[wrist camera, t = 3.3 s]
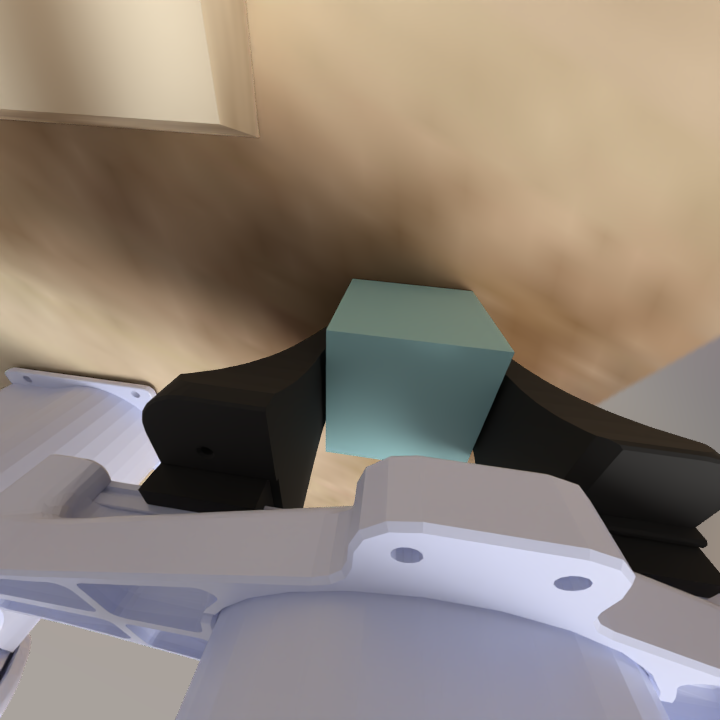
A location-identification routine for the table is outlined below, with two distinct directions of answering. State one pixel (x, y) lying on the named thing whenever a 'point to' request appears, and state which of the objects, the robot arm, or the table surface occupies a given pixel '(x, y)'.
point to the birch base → (129, 64)
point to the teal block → (410, 371)
